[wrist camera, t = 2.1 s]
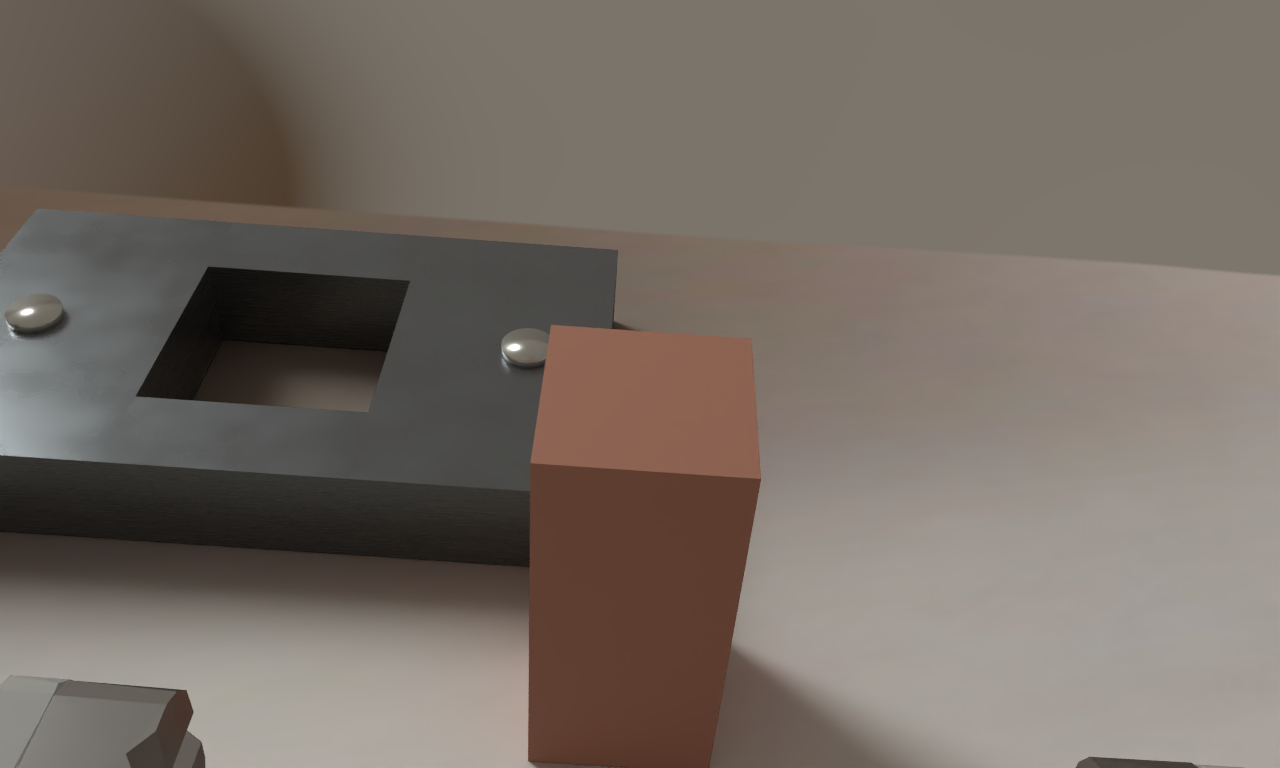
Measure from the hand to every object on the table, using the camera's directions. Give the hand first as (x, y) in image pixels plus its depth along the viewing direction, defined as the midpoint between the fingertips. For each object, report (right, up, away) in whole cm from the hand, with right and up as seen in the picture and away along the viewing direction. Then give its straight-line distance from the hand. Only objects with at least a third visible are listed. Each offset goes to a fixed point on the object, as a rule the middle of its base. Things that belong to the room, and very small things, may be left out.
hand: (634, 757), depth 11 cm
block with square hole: (-11, +3, +27) cm, 29 cm away
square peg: (0, -4, +20) cm, 20 cm away
